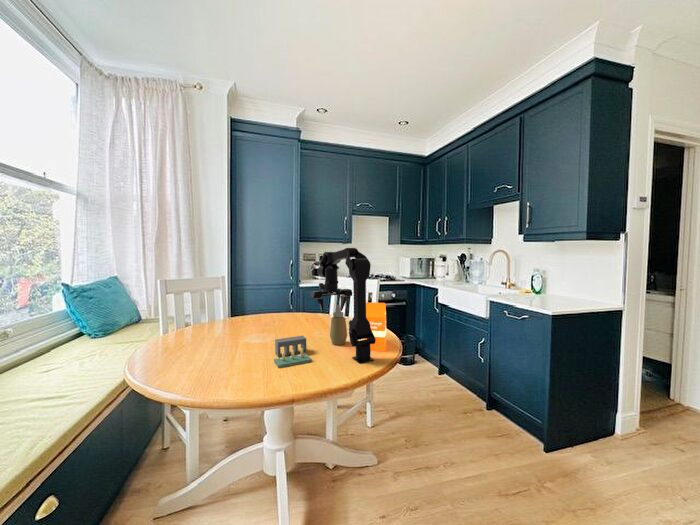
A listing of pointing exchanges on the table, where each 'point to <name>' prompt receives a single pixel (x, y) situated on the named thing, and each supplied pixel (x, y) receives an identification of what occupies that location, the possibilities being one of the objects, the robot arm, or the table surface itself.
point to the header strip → (292, 359)
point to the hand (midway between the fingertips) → (332, 311)
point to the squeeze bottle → (338, 328)
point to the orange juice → (377, 324)
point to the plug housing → (290, 342)
